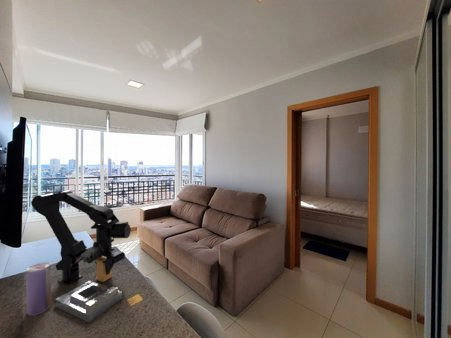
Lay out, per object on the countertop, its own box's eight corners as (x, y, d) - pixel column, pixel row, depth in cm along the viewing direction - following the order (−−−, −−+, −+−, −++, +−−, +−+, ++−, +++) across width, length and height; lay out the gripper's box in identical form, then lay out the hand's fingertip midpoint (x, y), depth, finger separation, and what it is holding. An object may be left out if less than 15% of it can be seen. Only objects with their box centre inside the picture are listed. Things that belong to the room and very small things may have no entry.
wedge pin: (95, 280, 83) (95, 259, 83) (105, 274, 87) (105, 254, 87) (102, 282, 81) (102, 261, 81) (112, 276, 85) (112, 256, 85)
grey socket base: (55, 306, 67) (55, 293, 67) (90, 286, 79) (90, 275, 78) (88, 322, 61) (88, 308, 61) (122, 298, 72) (122, 286, 72)
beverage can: (36, 318, 62) (35, 272, 62) (22, 315, 63) (21, 270, 63) (55, 304, 68) (55, 263, 68) (42, 302, 69) (41, 261, 69)
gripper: (69, 241, 80) (70, 278, 80) (100, 249, 73) (100, 289, 73) (96, 232, 90) (96, 265, 90) (125, 238, 83) (125, 274, 83)
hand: (104, 273), depth 84 cm, fingers closed on wedge pin, 4 cm apart
